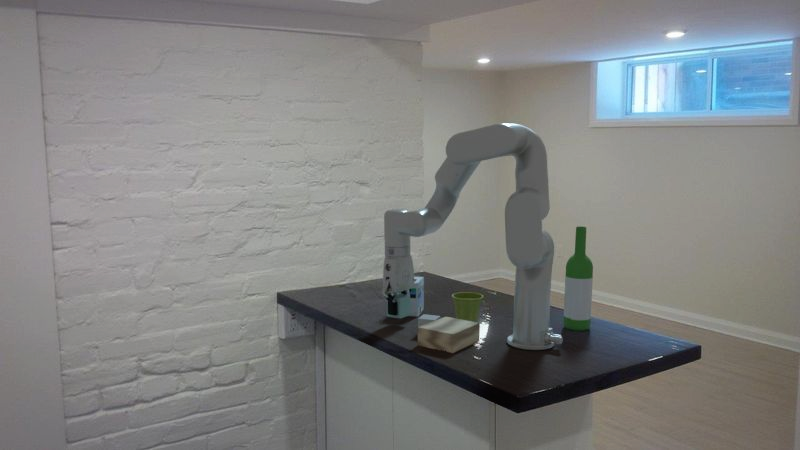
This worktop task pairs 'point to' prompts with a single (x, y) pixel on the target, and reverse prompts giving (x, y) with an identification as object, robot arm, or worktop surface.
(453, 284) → the worktop surface
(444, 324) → the oak pedestal
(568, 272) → the wine bottle
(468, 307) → the plant pot
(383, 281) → the robot arm
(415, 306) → the light bulb box
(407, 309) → the teal block
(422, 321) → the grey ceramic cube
